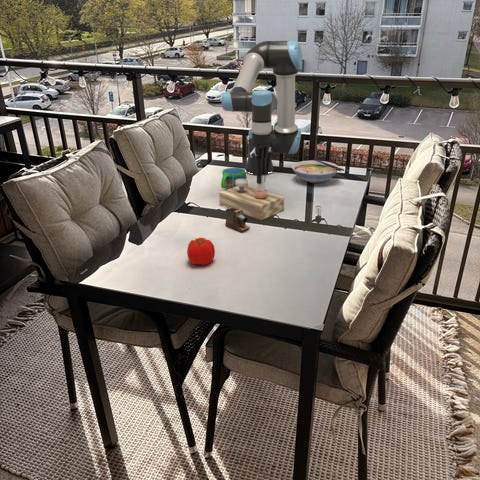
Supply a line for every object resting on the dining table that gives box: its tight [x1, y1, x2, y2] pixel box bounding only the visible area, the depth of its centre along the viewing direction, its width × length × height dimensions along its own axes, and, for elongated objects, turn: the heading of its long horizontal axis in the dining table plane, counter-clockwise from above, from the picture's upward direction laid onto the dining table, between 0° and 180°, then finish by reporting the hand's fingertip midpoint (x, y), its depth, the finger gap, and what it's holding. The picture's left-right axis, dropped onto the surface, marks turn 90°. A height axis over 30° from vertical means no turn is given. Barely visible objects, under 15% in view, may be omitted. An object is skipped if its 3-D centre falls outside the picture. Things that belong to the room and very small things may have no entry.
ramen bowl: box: [291, 158, 345, 184], centre depth 226 cm, size 25×23×8 cm
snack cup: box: [220, 167, 248, 190], centre depth 212 cm, size 16×10×10 cm
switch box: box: [219, 185, 285, 221], centre depth 194 cm, size 14×24×6 cm, turn 46°
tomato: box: [186, 237, 216, 266], centre depth 150 cm, size 9×9×8 cm
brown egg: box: [255, 189, 268, 199], centre depth 190 cm, size 5×5×6 cm
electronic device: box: [225, 208, 251, 233], centre depth 175 cm, size 4×10×8 cm, turn 44°
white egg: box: [235, 179, 249, 193], centre depth 196 cm, size 5×5×6 cm
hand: (260, 190), depth 188 cm, fingers closed
